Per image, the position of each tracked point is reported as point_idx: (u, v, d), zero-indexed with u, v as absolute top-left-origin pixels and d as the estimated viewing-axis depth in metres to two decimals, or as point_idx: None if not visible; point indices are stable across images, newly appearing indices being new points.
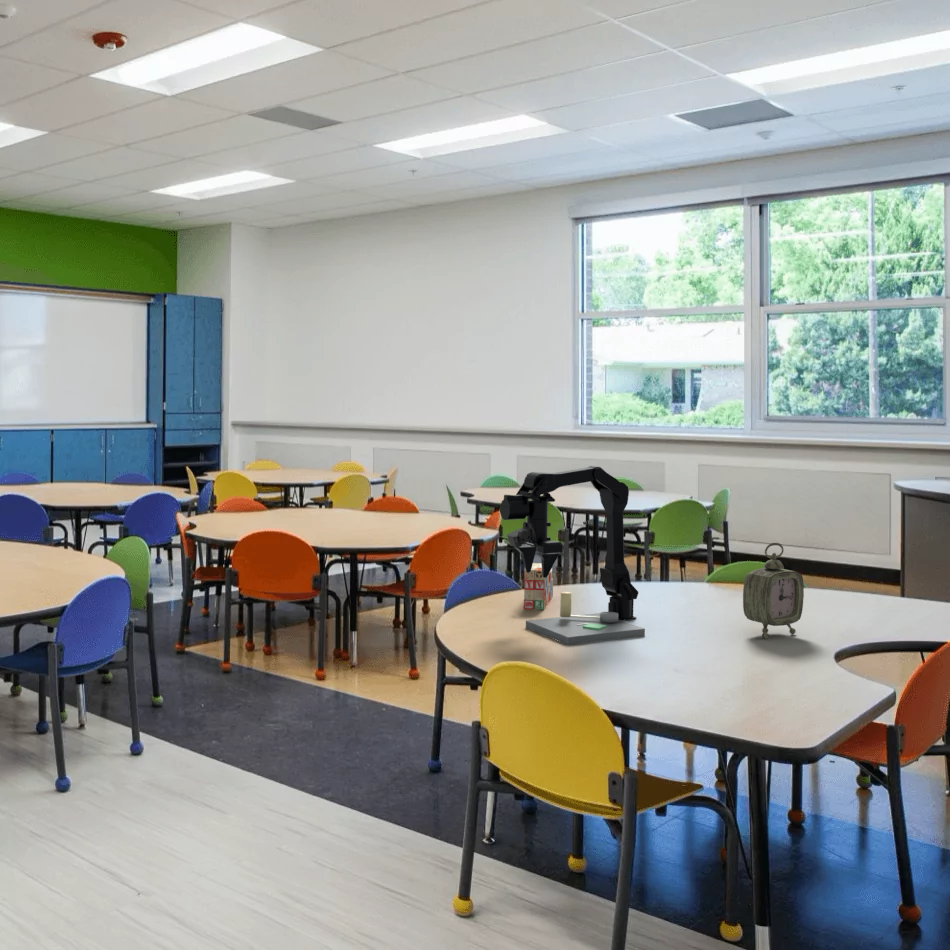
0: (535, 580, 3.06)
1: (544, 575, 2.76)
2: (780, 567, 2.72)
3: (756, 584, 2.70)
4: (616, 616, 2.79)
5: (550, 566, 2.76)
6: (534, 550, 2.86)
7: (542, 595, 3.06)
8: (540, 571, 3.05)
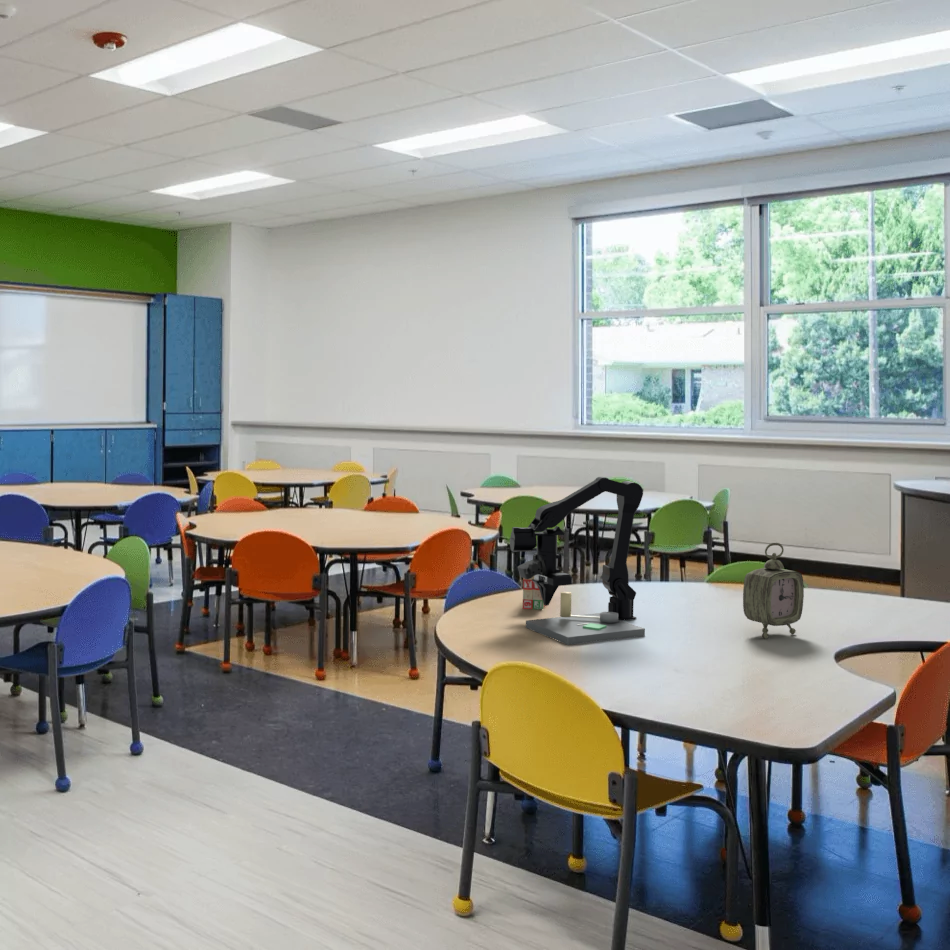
0: None
1: (546, 603, 2.89)
2: (780, 567, 2.72)
3: (756, 584, 2.70)
4: (616, 616, 2.79)
5: (551, 594, 2.89)
6: None
7: None
8: None
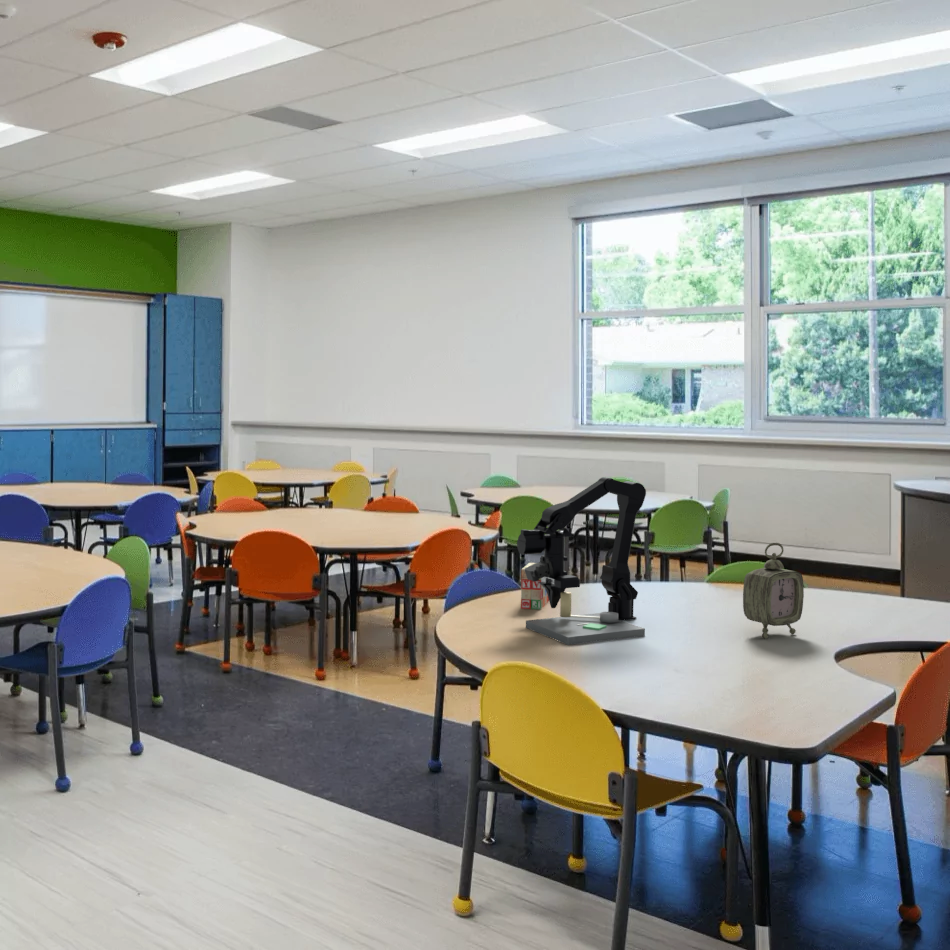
0: None
1: (553, 606, 2.86)
2: (780, 567, 2.72)
3: (756, 584, 2.70)
4: (616, 616, 2.79)
5: (558, 597, 2.85)
6: None
7: (539, 595, 3.06)
8: None
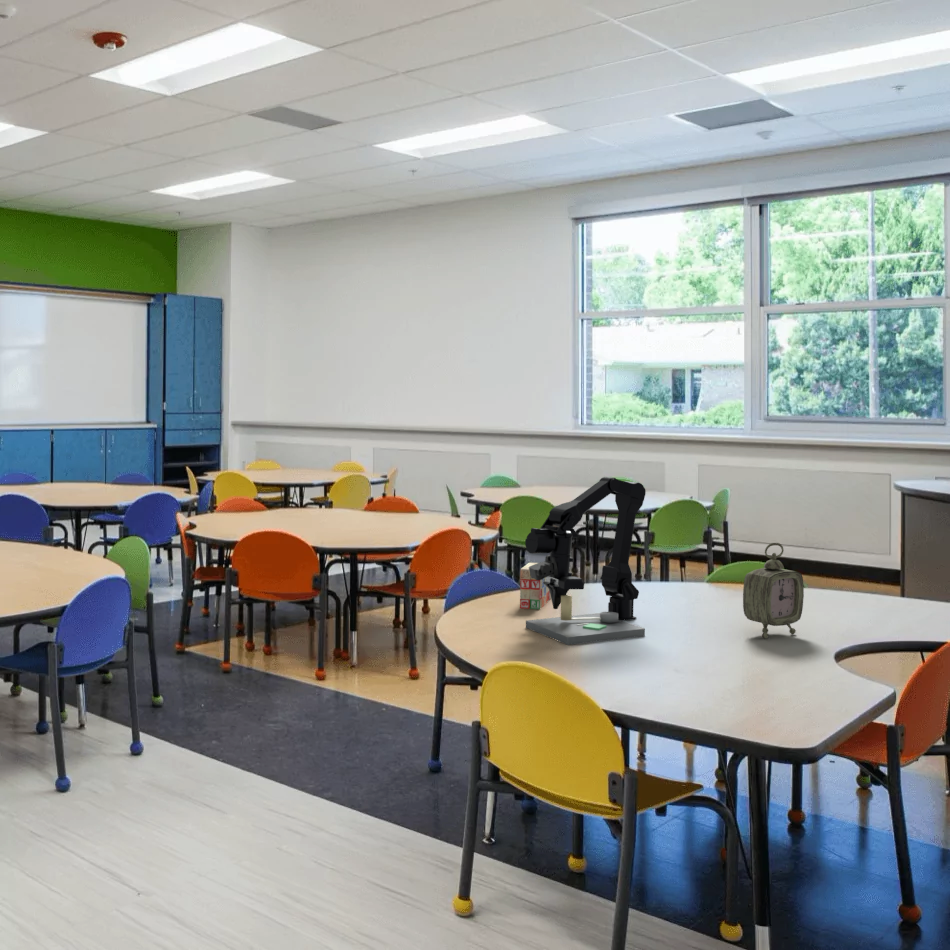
0: (531, 579, 3.07)
1: (554, 606, 2.81)
2: (780, 567, 2.72)
3: (756, 584, 2.70)
4: (617, 615, 2.79)
5: None
6: None
7: (538, 594, 3.06)
8: None
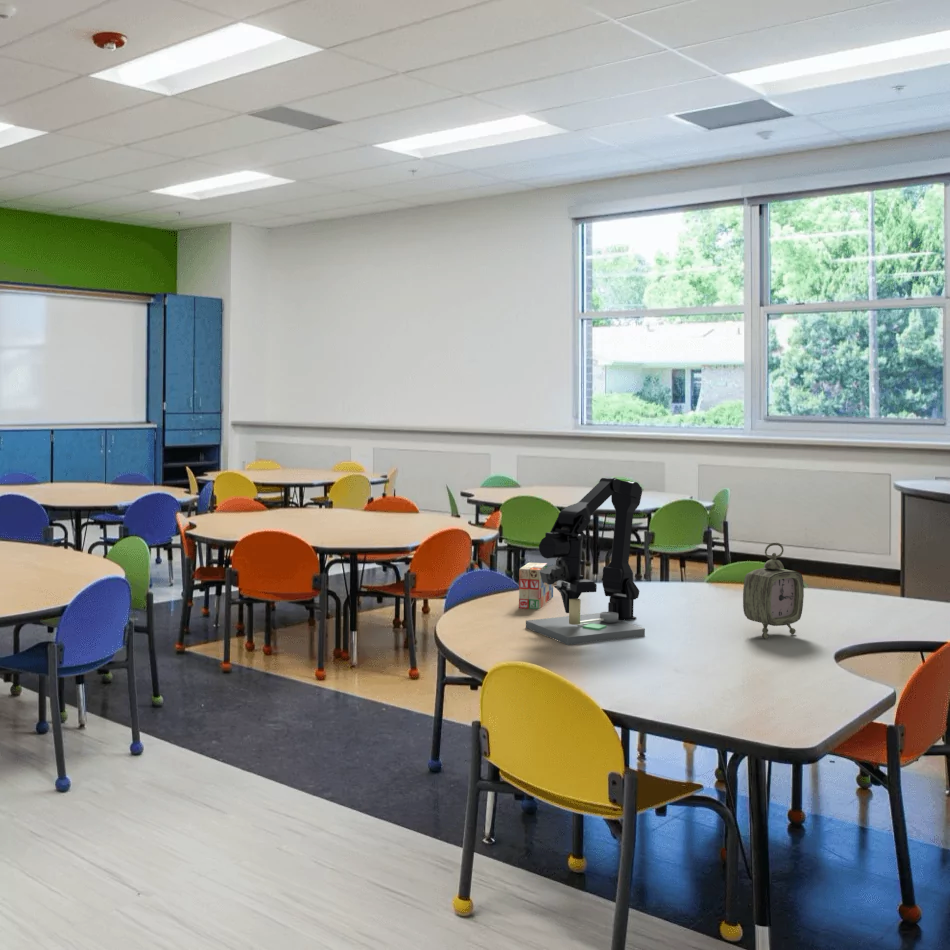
0: (530, 579, 3.07)
1: (567, 611, 2.77)
2: (780, 567, 2.72)
3: (756, 584, 2.70)
4: None
5: None
6: None
7: (537, 594, 3.07)
8: (535, 570, 3.06)
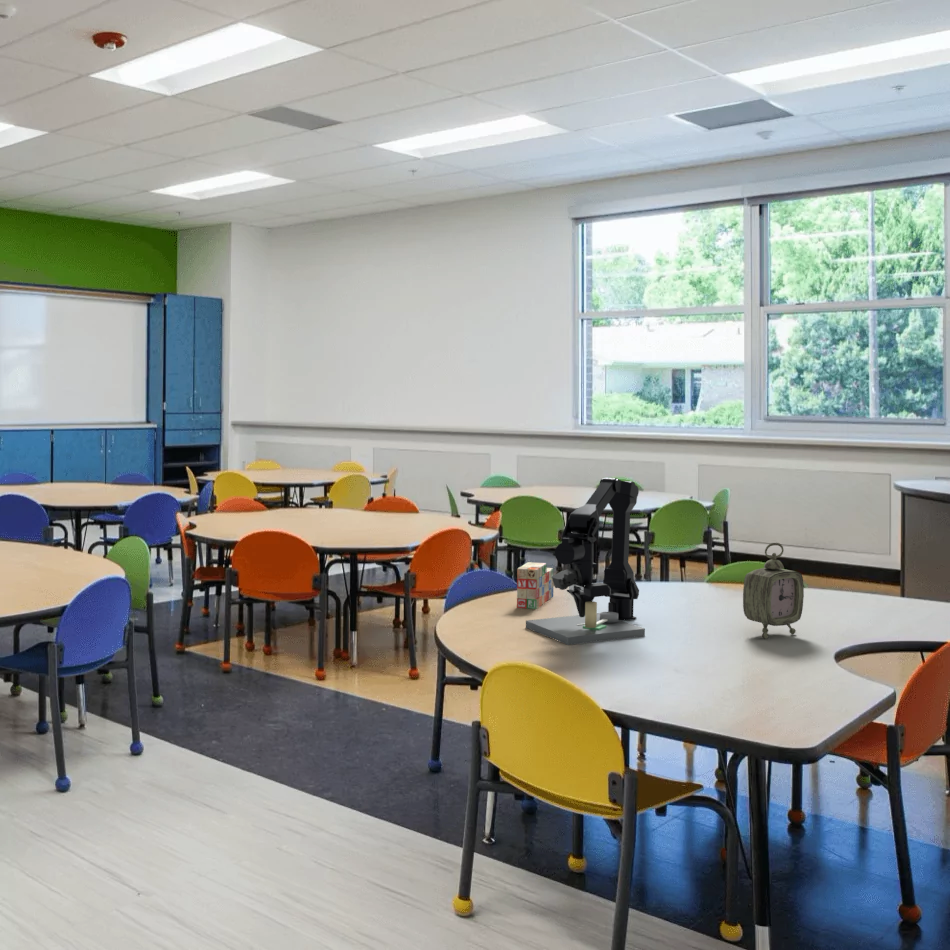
0: (527, 579, 3.07)
1: (581, 615, 2.73)
2: (780, 567, 2.72)
3: (756, 584, 2.70)
4: None
5: None
6: None
7: (534, 594, 3.07)
8: (532, 570, 3.07)
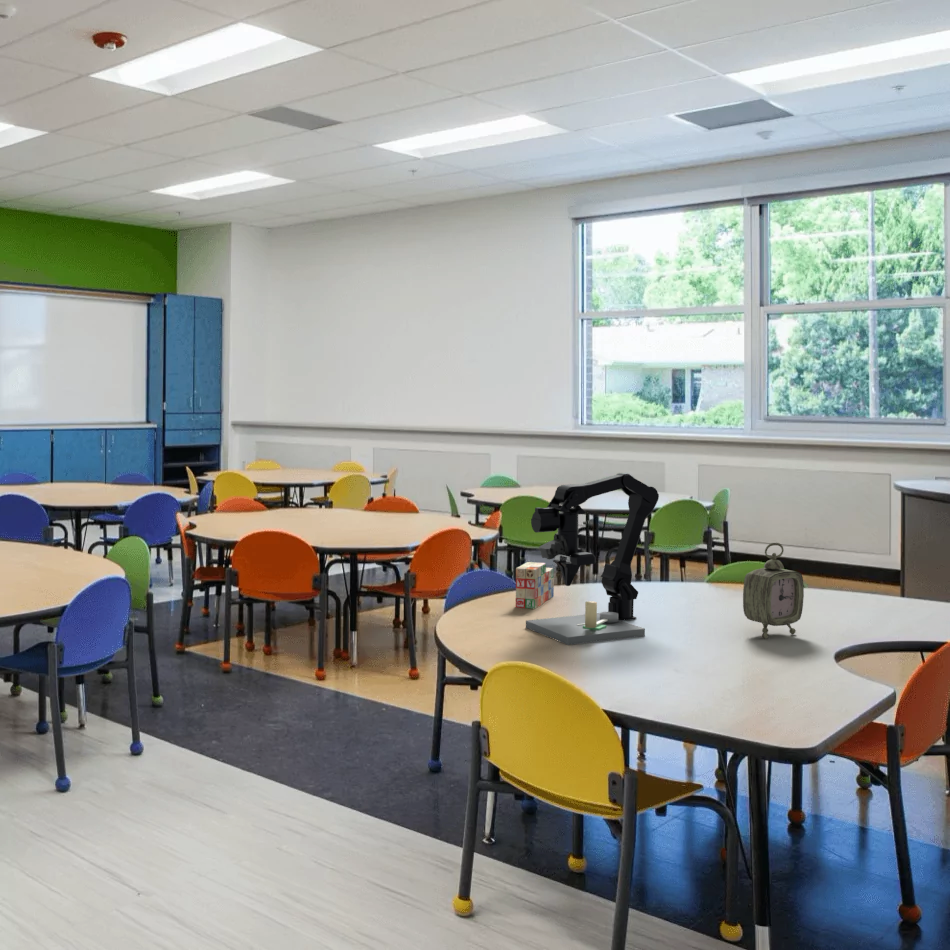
0: (526, 579, 3.08)
1: (567, 583, 2.86)
2: (780, 567, 2.72)
3: (756, 584, 2.70)
4: None
5: (573, 575, 2.85)
6: None
7: (533, 594, 3.07)
8: (531, 570, 3.07)
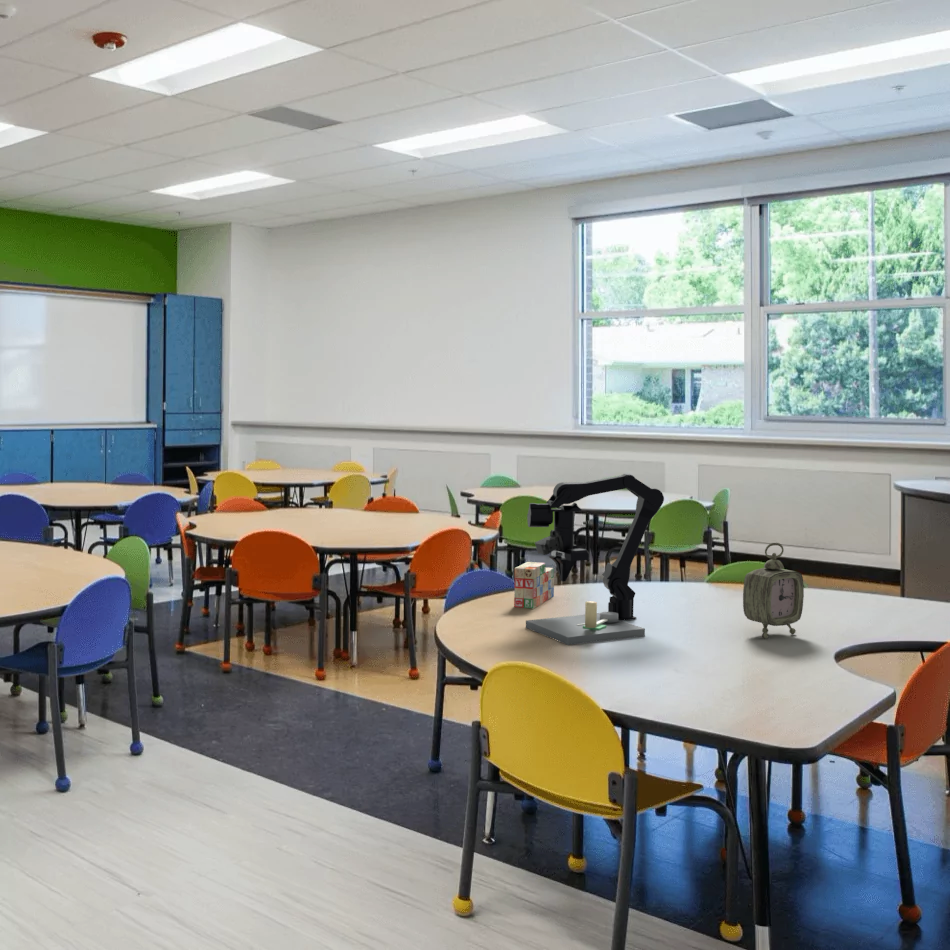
0: (524, 578, 3.08)
1: (563, 579, 2.91)
2: (780, 567, 2.72)
3: (756, 584, 2.70)
4: None
5: (568, 570, 2.91)
6: None
7: (531, 594, 3.08)
8: (529, 570, 3.07)
